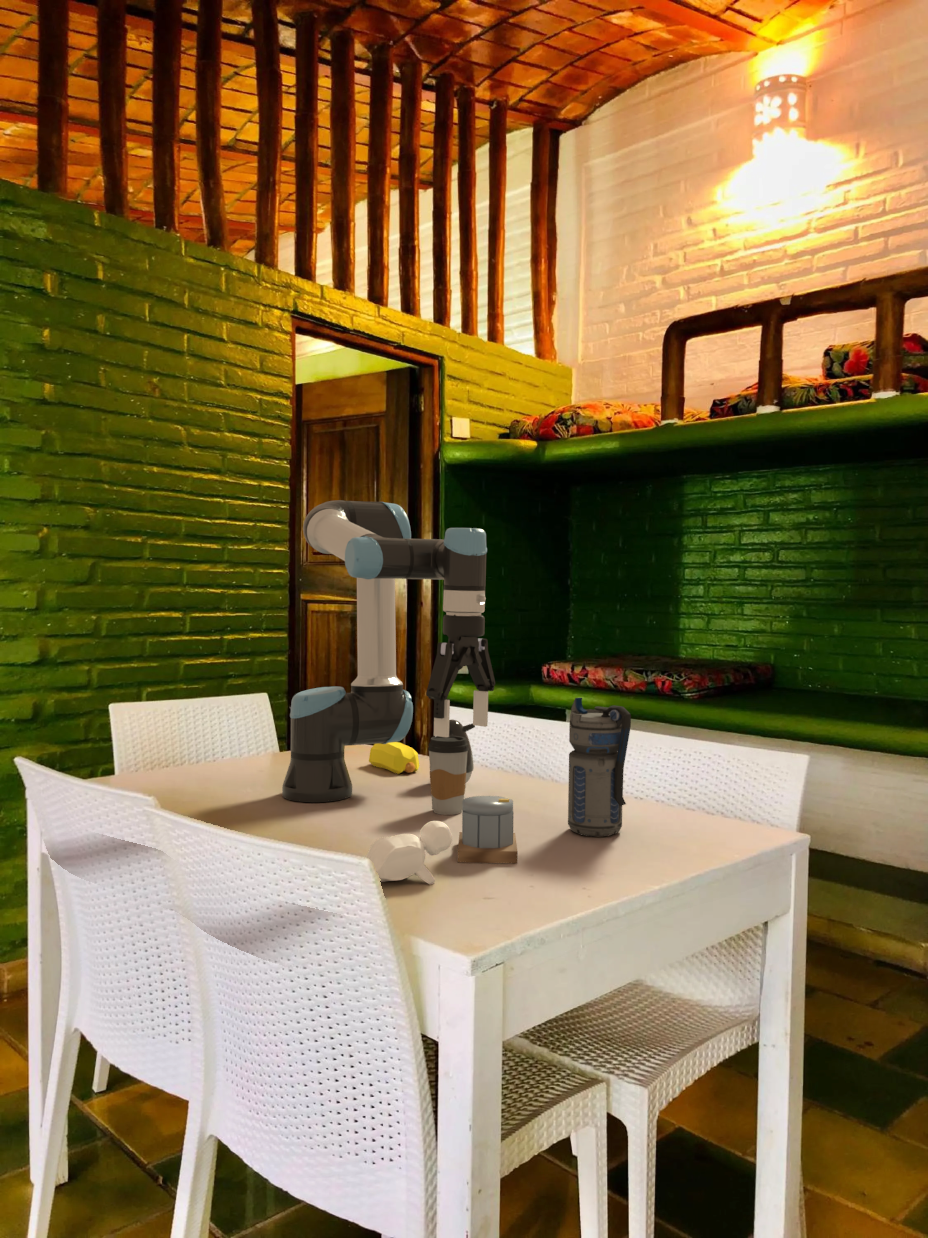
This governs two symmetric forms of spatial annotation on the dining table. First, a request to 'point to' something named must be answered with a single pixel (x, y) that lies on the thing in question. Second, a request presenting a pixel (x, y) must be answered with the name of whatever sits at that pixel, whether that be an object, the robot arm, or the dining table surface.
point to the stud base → (487, 853)
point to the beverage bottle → (597, 768)
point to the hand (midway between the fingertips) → (461, 731)
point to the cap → (487, 822)
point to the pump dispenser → (460, 730)
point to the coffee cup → (447, 773)
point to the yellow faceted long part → (394, 757)
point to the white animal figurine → (409, 852)
